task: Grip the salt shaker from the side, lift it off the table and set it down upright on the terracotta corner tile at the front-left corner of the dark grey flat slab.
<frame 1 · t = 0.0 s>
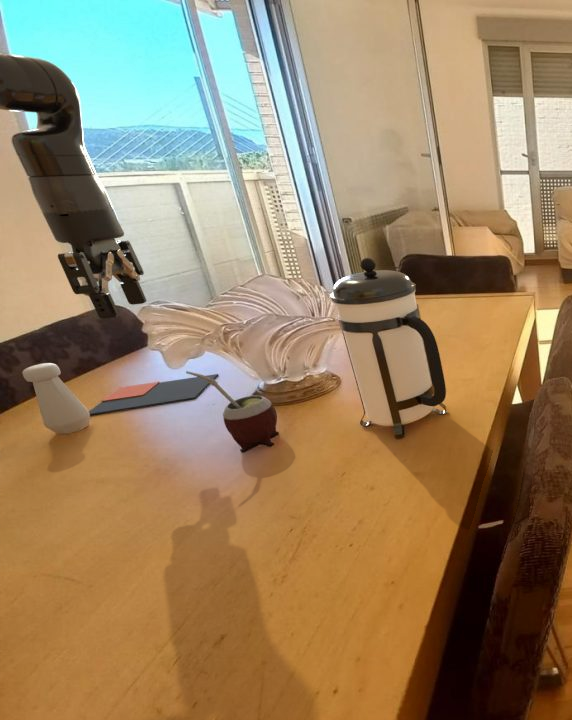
hand: (125, 310, 78), 23 cm above the table, tool pointing down, fingers open, 8 cm apart
coffee press: (411, 420, 88), on the table
mate gourd: (257, 444, 82), on the table
salt shaker: (73, 429, 89), on the table
dark grey flat slab: (157, 394, 102), on the table
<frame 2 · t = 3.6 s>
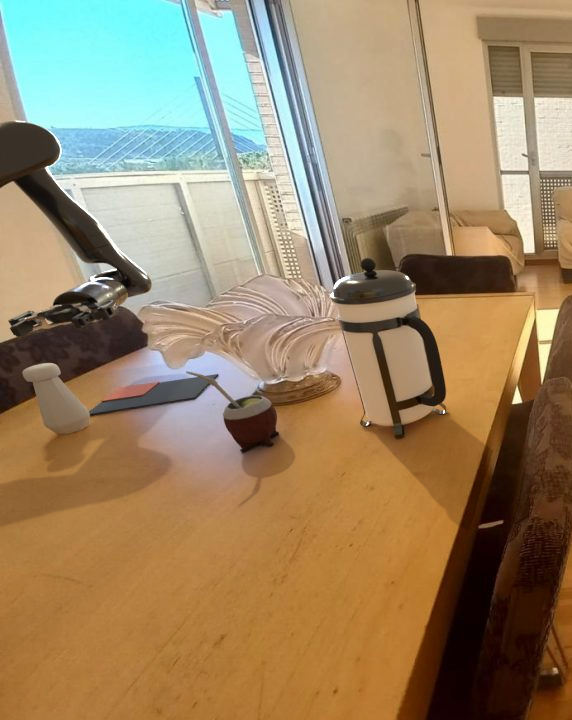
hand: (46, 327, 90), 17 cm above the table, tool horizontal, fingers open, 8 cm apart
nothing on the table moved.
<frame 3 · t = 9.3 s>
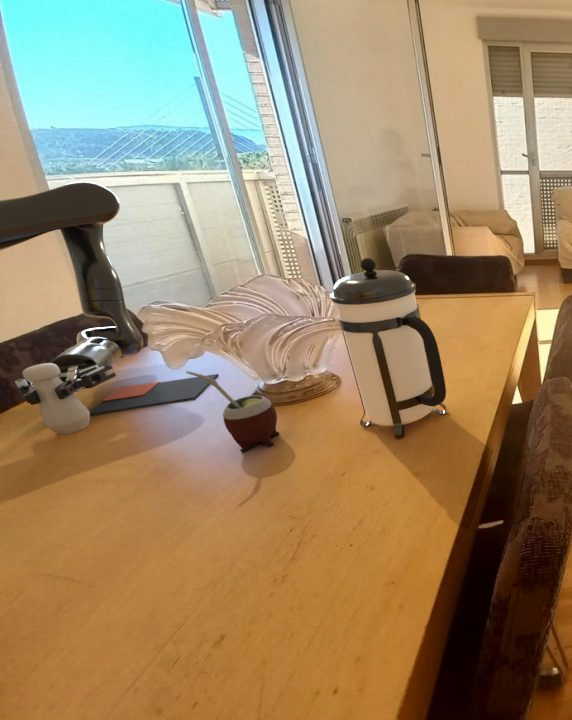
hand: (45, 396, 84), 8 cm above the table, tool horizontal, fingers closed on salt shaker, 3 cm apart
salt shaker: (74, 429, 89), on the table, touching gripper
everything else where it was.
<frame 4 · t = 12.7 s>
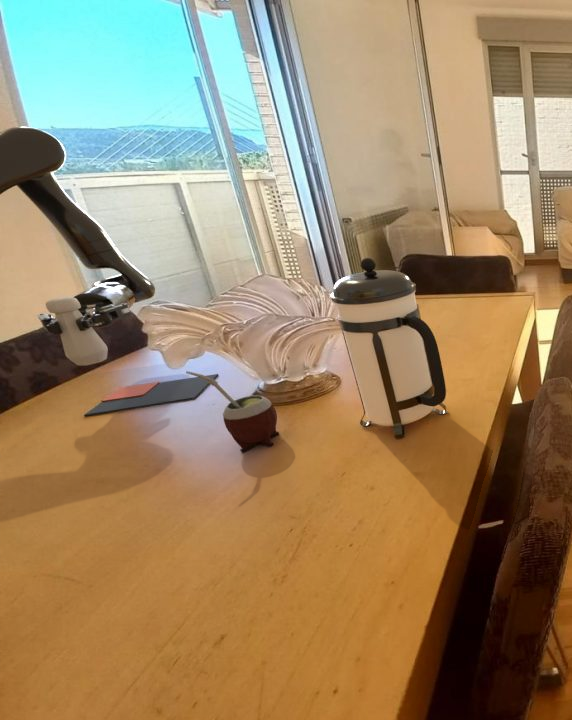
hand: (67, 327, 89), 18 cm above the table, tool horizontal, fingers closed on salt shaker, 3 cm apart
salt shaker: (92, 362, 95), point 9 cm above the table, touching gripper
everything else where it was.
when the fingers open (9 cm above the table, at t = 16.2 s): salt shaker stays where it is, resting on dark grey flat slab.
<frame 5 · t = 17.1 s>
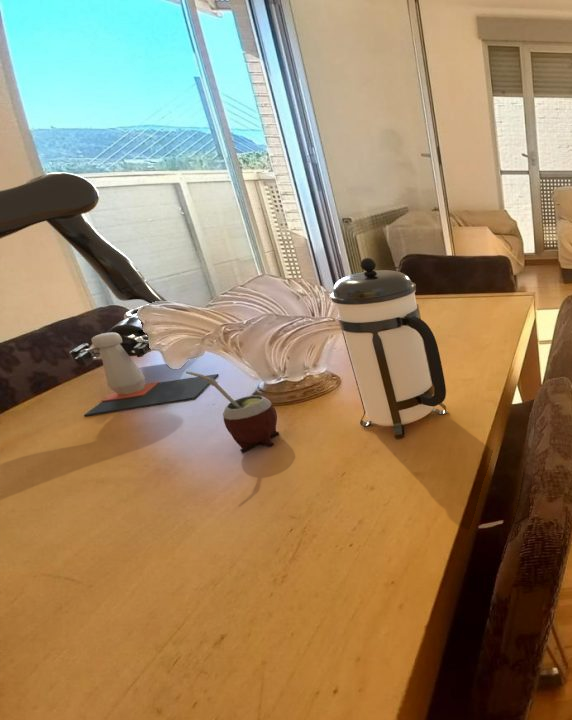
hand: (110, 357, 98), 9 cm above the table, tool horizontal, fingers open, 8 cm apart
salt shaker: (131, 391, 103), resting on dark grey flat slab
everything else where it was.
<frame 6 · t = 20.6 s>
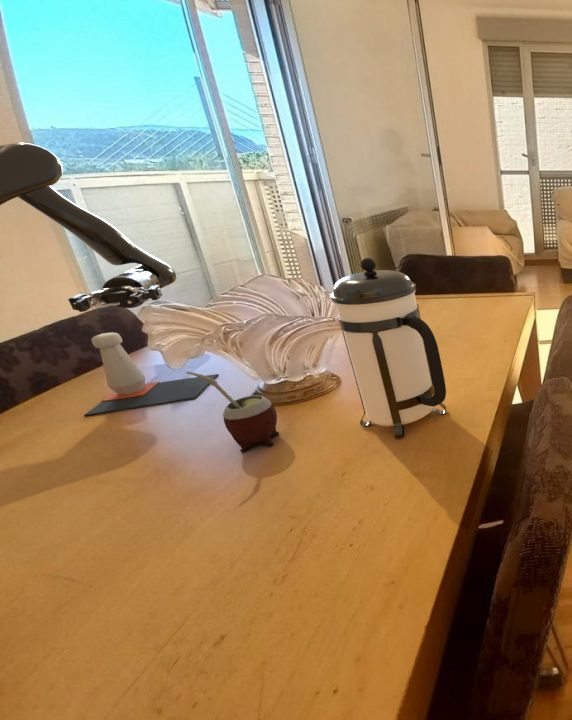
hand: (106, 303, 102), 18 cm above the table, tool horizontal, fingers open, 8 cm apart
nothing on the table moved.
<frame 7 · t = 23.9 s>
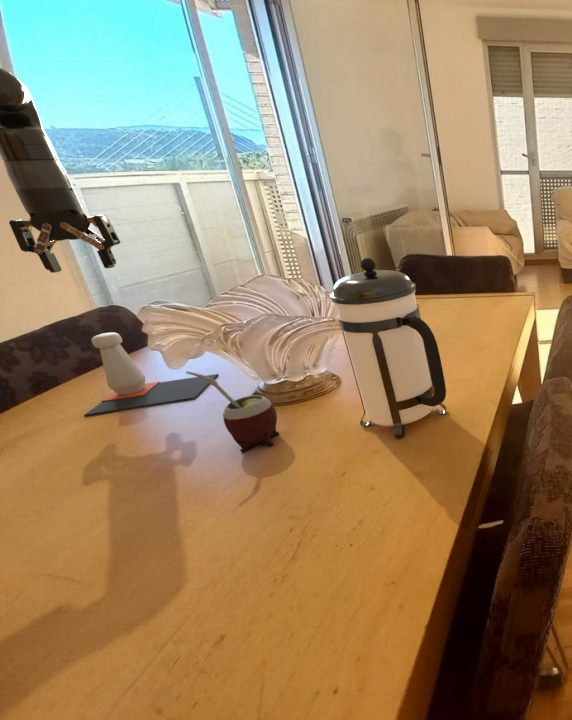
hand: (83, 269, 97), 26 cm above the table, tool pointing down, fingers open, 8 cm apart
nothing on the table moved.
at the end: salt shaker 0.2 cm from the target spot on the dark grey flat slab, point 0.4 cm above the dark grey flat slab's base; salt shaker tilted 0°; the gripper is holding nothing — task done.
